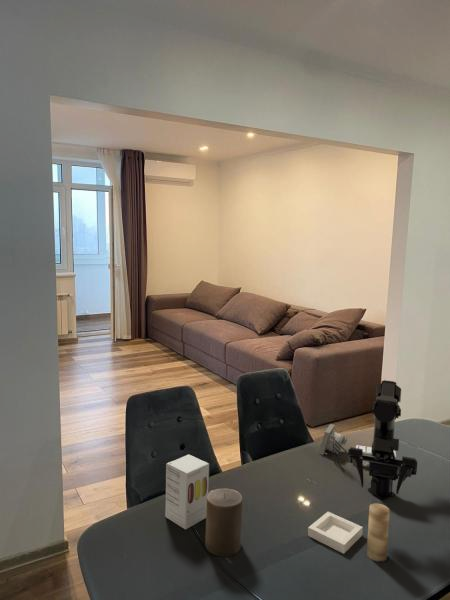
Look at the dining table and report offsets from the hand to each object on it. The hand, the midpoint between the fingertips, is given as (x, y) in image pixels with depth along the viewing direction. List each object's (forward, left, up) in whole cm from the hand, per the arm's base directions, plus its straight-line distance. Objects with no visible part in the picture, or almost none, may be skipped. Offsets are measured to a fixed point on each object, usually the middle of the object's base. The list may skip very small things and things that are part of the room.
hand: (379, 490), depth 125 cm
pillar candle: (+41, -13, -14) cm, 46 cm away
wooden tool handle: (+5, +6, -14) cm, 16 cm away
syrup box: (-36, -30, -11) cm, 48 cm away
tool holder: (+10, -5, -14) cm, 18 cm away
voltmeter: (-19, -44, -14) cm, 50 cm away
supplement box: (+46, -29, -14) cm, 57 cm away
